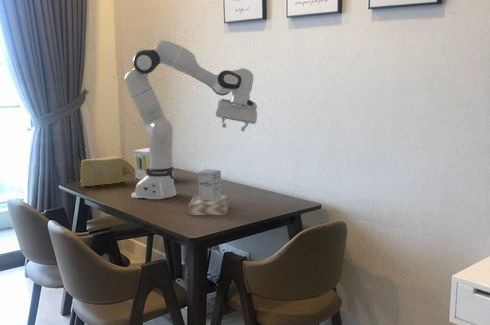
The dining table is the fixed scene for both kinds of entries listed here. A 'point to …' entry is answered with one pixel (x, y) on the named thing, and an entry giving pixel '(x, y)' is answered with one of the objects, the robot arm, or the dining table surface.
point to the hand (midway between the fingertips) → (233, 129)
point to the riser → (208, 206)
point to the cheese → (101, 171)
